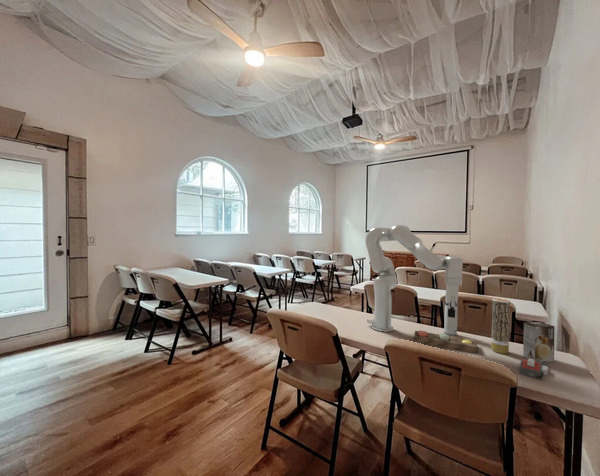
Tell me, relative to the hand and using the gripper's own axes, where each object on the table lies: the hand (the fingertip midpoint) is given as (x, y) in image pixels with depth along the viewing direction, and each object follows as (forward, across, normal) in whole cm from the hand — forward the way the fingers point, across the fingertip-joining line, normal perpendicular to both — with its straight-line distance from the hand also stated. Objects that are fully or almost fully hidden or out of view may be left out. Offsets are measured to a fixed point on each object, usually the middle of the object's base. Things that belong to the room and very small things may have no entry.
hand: (451, 316), depth 139 cm
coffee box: (+14, -1, +35) cm, 38 cm away
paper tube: (+14, -3, +21) cm, 26 cm away
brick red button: (+13, 0, -13) cm, 18 cm away
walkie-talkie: (+14, +13, +30) cm, 36 cm away
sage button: (+13, 0, -3) cm, 13 cm away
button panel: (+14, 0, -3) cm, 15 cm away
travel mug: (+15, -18, +2) cm, 23 cm away
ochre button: (+14, 0, +7) cm, 16 cm away
